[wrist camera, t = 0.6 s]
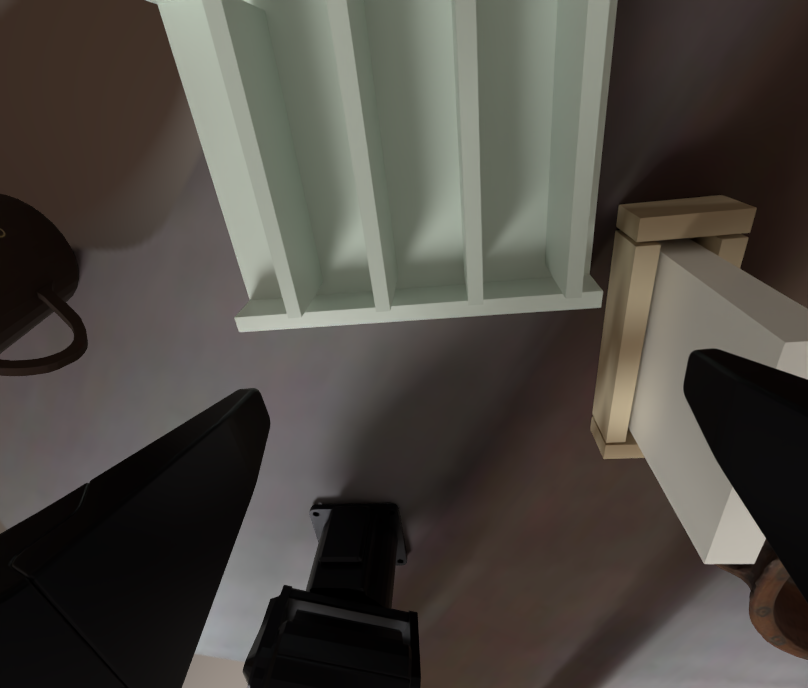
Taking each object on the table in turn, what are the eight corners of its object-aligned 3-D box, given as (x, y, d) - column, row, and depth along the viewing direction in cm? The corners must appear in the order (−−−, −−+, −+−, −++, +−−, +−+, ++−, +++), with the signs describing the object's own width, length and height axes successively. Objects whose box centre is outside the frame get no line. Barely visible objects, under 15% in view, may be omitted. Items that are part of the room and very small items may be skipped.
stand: (667, 426, 26) (687, 456, 24) (590, 428, 27) (603, 458, 24) (722, 194, 20) (757, 207, 17) (618, 204, 20) (640, 218, 18)
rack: (582, 282, 22) (616, 328, 18) (260, 306, 24) (221, 353, 20) (617, -95, 15) (688, -169, 11) (163, -17, 17) (71, -54, 13)
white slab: (648, 403, 26) (754, 563, 17) (615, 405, 26) (704, 564, 17) (682, 234, 21) (857, 338, 12) (642, 237, 21) (785, 342, 12)
